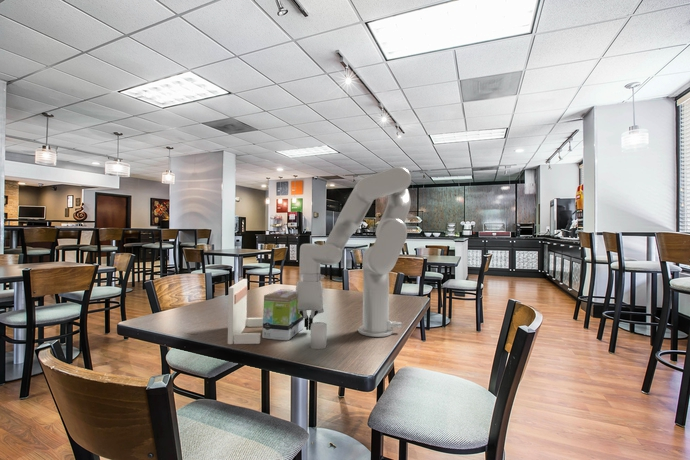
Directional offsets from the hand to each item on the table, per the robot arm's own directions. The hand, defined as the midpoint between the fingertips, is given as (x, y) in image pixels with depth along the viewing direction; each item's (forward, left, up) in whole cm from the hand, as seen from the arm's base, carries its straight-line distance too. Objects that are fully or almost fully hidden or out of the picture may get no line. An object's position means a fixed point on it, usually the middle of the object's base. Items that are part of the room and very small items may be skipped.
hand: (308, 328), depth 117 cm
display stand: (+19, 0, -2) cm, 20 cm away
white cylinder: (-4, +14, -2) cm, 15 cm away
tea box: (+9, 0, -2) cm, 9 cm away
